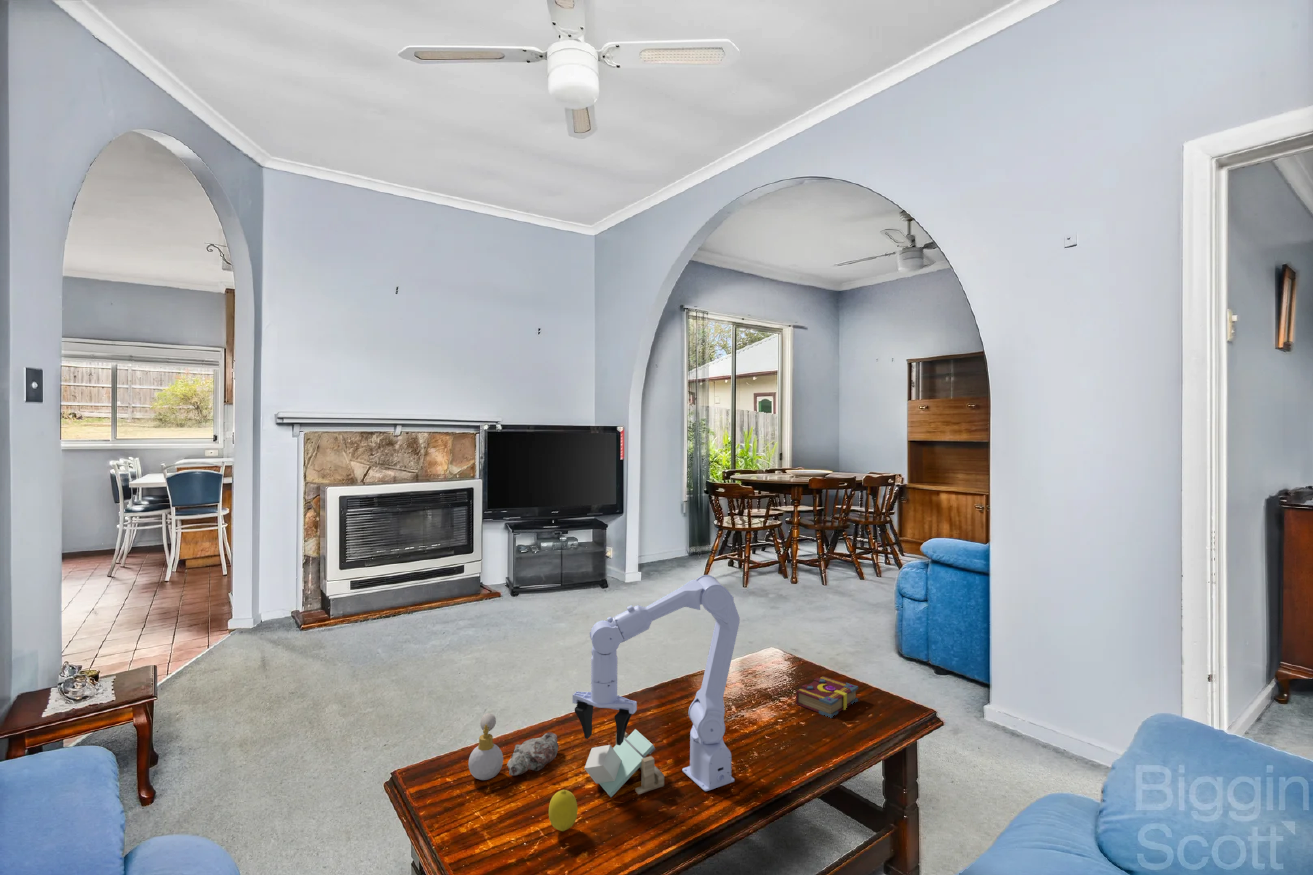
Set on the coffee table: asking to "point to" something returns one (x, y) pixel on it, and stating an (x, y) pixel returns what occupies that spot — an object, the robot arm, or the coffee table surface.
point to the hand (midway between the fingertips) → (604, 739)
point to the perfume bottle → (486, 752)
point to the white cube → (603, 764)
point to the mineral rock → (533, 754)
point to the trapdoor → (628, 759)
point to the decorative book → (826, 696)
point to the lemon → (563, 810)
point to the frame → (649, 774)
